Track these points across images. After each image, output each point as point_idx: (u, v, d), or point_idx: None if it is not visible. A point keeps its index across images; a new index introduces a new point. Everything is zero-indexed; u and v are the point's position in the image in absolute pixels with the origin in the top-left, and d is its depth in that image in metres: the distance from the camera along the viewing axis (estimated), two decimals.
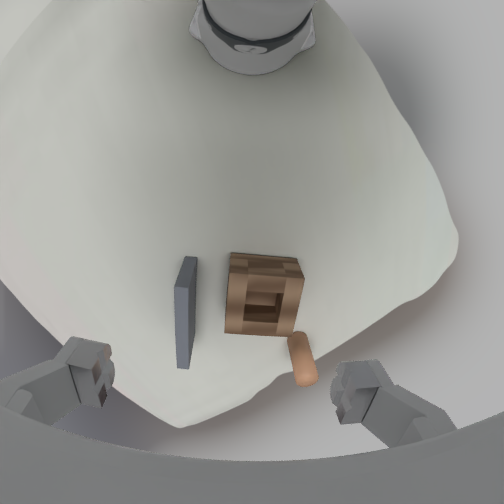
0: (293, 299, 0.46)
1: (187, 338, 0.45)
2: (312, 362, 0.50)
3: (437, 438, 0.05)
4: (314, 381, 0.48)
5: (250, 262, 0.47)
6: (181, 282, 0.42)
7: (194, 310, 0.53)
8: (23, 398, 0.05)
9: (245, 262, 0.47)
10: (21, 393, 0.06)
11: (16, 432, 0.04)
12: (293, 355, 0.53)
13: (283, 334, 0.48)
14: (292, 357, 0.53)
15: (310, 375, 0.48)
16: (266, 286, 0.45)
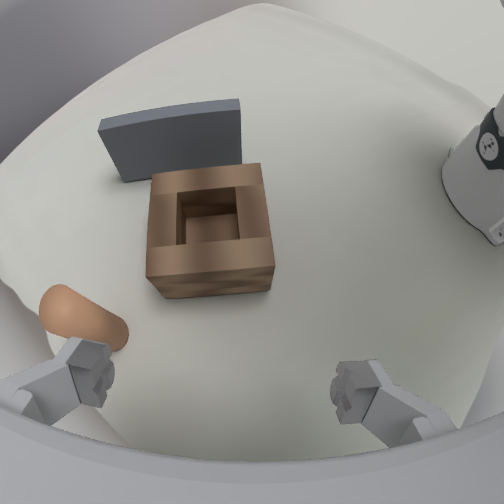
0: (229, 257, 0.26)
1: (154, 119, 0.29)
2: (88, 328, 0.22)
3: (437, 438, 0.05)
4: (50, 326, 0.19)
5: None
6: None
7: (166, 168, 0.37)
8: (23, 398, 0.05)
9: None
10: (21, 394, 0.06)
11: (16, 432, 0.04)
12: None
13: (150, 260, 0.25)
14: None
15: (66, 313, 0.20)
16: (248, 211, 0.27)
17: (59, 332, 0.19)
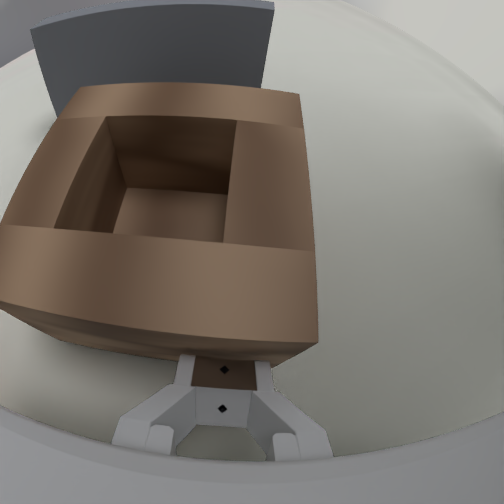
0: (181, 294, 0.08)
1: (117, 9, 0.12)
2: None
3: (437, 438, 0.05)
4: None
5: None
6: None
7: None
8: (163, 435, 0.06)
9: None
10: (158, 430, 0.06)
11: (16, 432, 0.04)
12: None
13: None
14: None
15: None
16: (260, 175, 0.10)
17: None
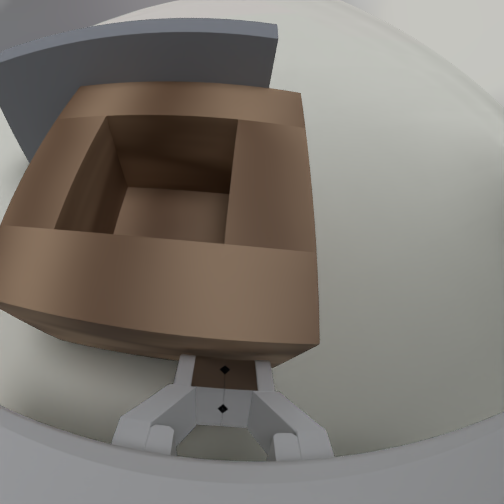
0: (182, 296, 0.08)
1: (77, 42, 0.10)
2: None
3: (437, 438, 0.05)
4: None
5: None
6: None
7: None
8: (163, 435, 0.06)
9: None
10: (159, 430, 0.06)
11: (16, 432, 0.04)
12: None
13: None
14: None
15: None
16: (261, 175, 0.10)
17: None
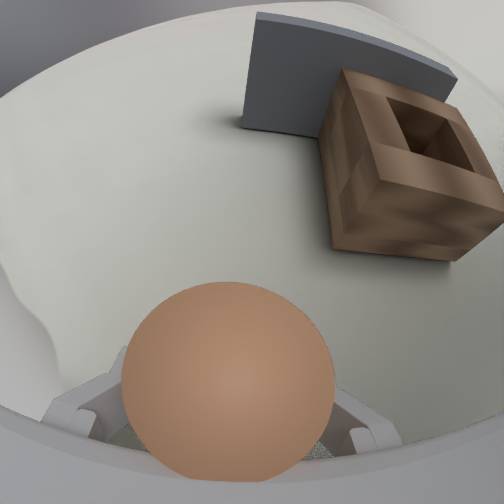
0: (475, 190, 0.14)
1: (356, 39, 0.16)
2: None
3: (437, 438, 0.05)
4: (192, 458, 0.04)
5: None
6: None
7: (320, 124, 0.23)
8: (86, 419, 0.06)
9: None
10: (83, 413, 0.06)
11: (16, 432, 0.04)
12: None
13: (381, 159, 0.14)
14: None
15: (283, 405, 0.05)
16: (470, 148, 0.16)
17: (245, 480, 0.04)
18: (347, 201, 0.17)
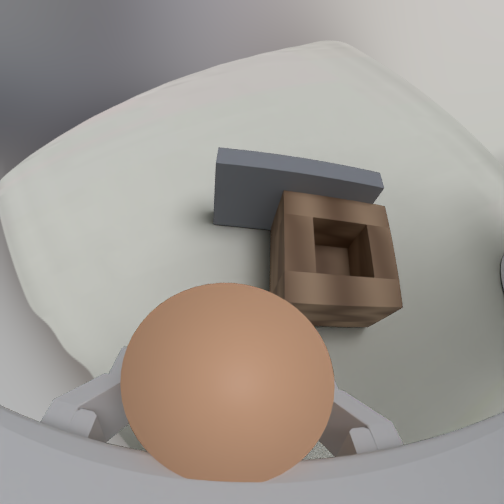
0: (367, 294, 0.25)
1: (293, 171, 0.26)
2: None
3: (437, 438, 0.05)
4: (191, 459, 0.04)
5: None
6: None
7: (271, 222, 0.34)
8: (86, 419, 0.06)
9: None
10: (83, 414, 0.06)
11: (16, 432, 0.04)
12: None
13: (290, 285, 0.24)
14: None
15: (283, 406, 0.05)
16: (379, 252, 0.27)
17: (244, 481, 0.04)
18: None
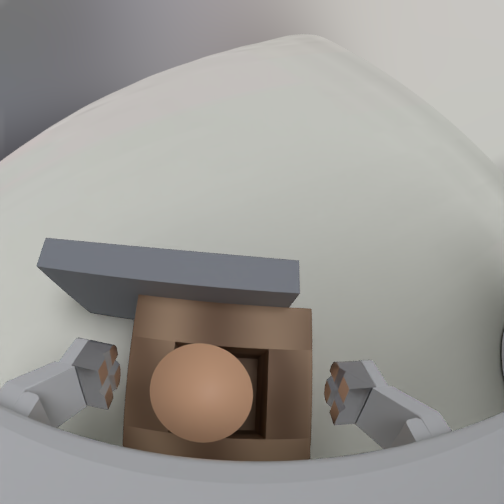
0: None
1: (134, 277, 0.16)
2: None
3: (437, 438, 0.05)
4: (182, 427, 0.10)
5: None
6: None
7: None
8: (29, 401, 0.05)
9: None
10: (27, 396, 0.06)
11: (16, 432, 0.04)
12: None
13: (129, 445, 0.14)
14: None
15: (225, 404, 0.10)
16: (284, 396, 0.16)
17: (207, 440, 0.10)
18: None
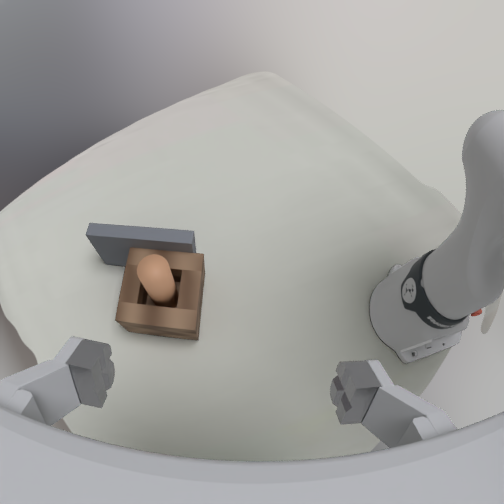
0: (168, 319, 0.38)
1: (128, 237, 0.40)
2: (168, 287, 0.36)
3: (437, 438, 0.05)
4: (145, 280, 0.34)
5: (202, 284, 0.45)
6: (193, 240, 0.42)
7: None
8: (23, 398, 0.05)
9: (202, 279, 0.45)
10: (21, 393, 0.06)
11: (16, 432, 0.04)
12: None
13: (120, 310, 0.38)
14: None
15: (160, 273, 0.34)
16: (186, 289, 0.40)
17: (153, 285, 0.34)
18: None
